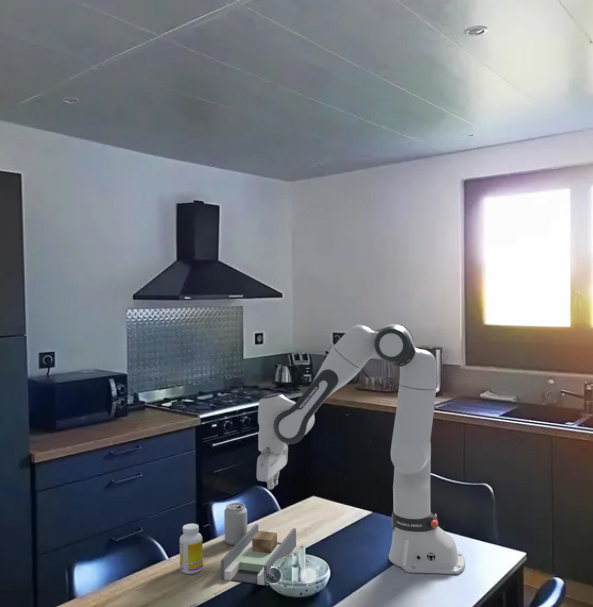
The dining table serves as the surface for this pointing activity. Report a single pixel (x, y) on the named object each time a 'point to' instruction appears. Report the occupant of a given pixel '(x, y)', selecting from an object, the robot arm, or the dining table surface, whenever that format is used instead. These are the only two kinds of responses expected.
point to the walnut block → (264, 542)
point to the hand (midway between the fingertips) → (272, 486)
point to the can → (235, 522)
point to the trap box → (253, 559)
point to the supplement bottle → (191, 549)
